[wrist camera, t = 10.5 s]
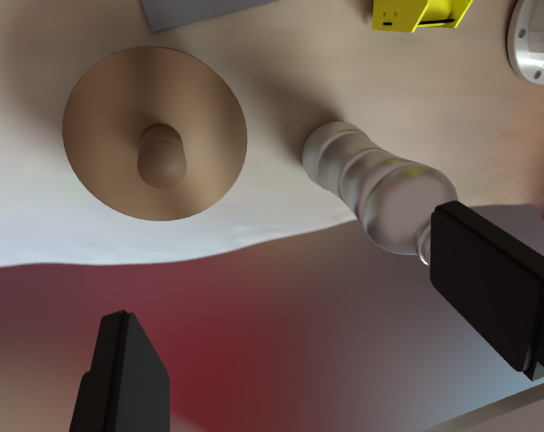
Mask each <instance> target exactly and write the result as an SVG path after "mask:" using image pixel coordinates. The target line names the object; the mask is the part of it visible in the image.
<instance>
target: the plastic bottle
mask: <svg viewBox="0 0 544 432" xmlns="http://www.w3.org/2000/svg"><path fill="white" fill-rule="evenodd" d="M302 163H303V166H304V169H305V171H306V173H307V175H308V176H309V178H310V179H311V180H312V181H313V182H314V183H316V184H317V185H319V186H320V187H322V188H324V189H326V190H328V191H330V192H332V193H333V194H335V195H336V196H337V197H339V198H340V199H342V200H343V202H344V203H345V204H346V205H347V206H348V207H349V208H350V209H351V210H352V212H353V213H354V214H355V216H356V217H357V219H358V220H359V222H360V223H361V225H362V226H363V228H364V229H365V231H366V232H367V234H368V235H369V236H370V238H371V239H372V240H373V241H374V242H375V243H376V244H377V245H378V246H380V247H382V248H384V249H386V250H388V251H391V252H393V253H397V254H408V255H417V256H418V258H419V259H420V260H421V261H422V262H423V263H424V264H426V265H428V266H430V230H431V214H432V212H434V210H435V207H436V206H438V205H441V204H444V203H447V202H450V201H453V200H456V201H458V196H457V193H456V189H455V187H454V186H453V184H452V183H451V182H450V180H449V179H448V178H447V177H446V175H444V174H443V173H442V172H441V171H439V170H437V169H434V168H432V167H429V166H427V165H423V164H421V163H417V162H414V161H410V160H407V159H404V158H400V157H398V156H396V155H394V154H392V153H389V152H387V151H385V150H383V149H382V148H380V147H379V146H378V145H376V144H375V143H374V142H372V141H371V140H370V139H369V137H368V136H367V135H366V134H365V133H364V132H363V131H362V130H361V129H359V128H358V127H357V126H355V125H353V124H350V123H344V122H330V123H326V124H324V125H322V126H320V127H319V128H317V129H316V130H315V131H314V132H313V133H312V134H311V135H310V136H309V138H308V139H307V141H306V143H305V145H304V148H303V152H302Z"/></svg>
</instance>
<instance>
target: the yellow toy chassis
mask: <svg viewBox="0 0 544 432" xmlns="http://www.w3.org/2000/svg"><path fill="white" fill-rule="evenodd" d="M472 1H473V0H374V6H373V19H372V30H381V31H397V32H414V30H415V29H416V27H443V28H456V27H457V26H458V24H459V22H460V21H461V19H462V17H463V16H464V14H465V13H466V11H467V9H468V8H469V6H470V5H471V3H472Z"/></svg>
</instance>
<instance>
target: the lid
mask: <svg viewBox="0 0 544 432" xmlns="http://www.w3.org/2000/svg"><path fill="white" fill-rule="evenodd" d="M63 141H64V147H65V151H66V154H67V157H68V160H69V162H70V164H71V167H72V169H73V171H74V172H75V174H76V175H77V177H78V179H79V180H80V181H81V183H82V184H83V185H84V186H85V187H86V189H87V190H88V191H89V192H90V193H91V194H93V195H94V196H95V197H96V198H97V199H98V200H100V201H101V202H102V203H104V204H105V205H107V206H109V207H110V208H112V209H114V210H116V211H118V212H120V213H123V214H125V215H128V216H131V217H134V218H138V219H143V220H151V221H171V220H178V219H182V218H186V217H190V216H192V215H195V214H198V213H200V212H202V211H204V210H206V209H208V208H209V207H211V206H212V205H213V204H215V203H216V202H218V201H219V200H220V199H221V198H222V197H223V196H224V195H225V194H226V193H227V192H228V191H229V190H230V188H231V187H232V186H233V184H234V183H235V181H236V180H237V178H238V176H239V174H240V172H241V169H242V167H243V164H244V161H245V156H246V151H247V128H246V123H245V118H244V115H243V112H242V109H241V107H240V105H239V103H238V100H237V98H236V97H235V95H234V94H233V92H232V90H231V89H230V87H229V86H228V85H227V84H226V83H225V82H224V80H223V79H222V78H221V77H220V76H219V75H218V74H217V73H215V72H214V71H213V70H212V69H211V68H210V67H208V66H207V65H206V64H204V63H203V62H201V61H200V60H198V59H196V58H194V57H192V56H190V55H188V54H185V53H183V52H180V51H177V50H173V49H169V48H164V47H154V46H148V47H136V48H130V49H126V50H123V51H120V52H117V53H114V54H112V55H110V56H108V57H106V58H104V59H103V60H101V61H100V62H98V63H97V64H96V65H94V66H93V67H92V68H90V69H89V70H88V71H87V72H86V73H85V74H84V75H83V76H82V77H81V79H80V80H79V82H78V83H77V84H76V86H75V87H74V89H73V91H72V93H71V95H70V97H69V99H68V101H67V105H66V108H65V111H64V117H63Z"/></svg>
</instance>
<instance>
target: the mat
mask: <svg viewBox="0 0 544 432" xmlns="http://www.w3.org/2000/svg"><path fill="white" fill-rule="evenodd" d="M273 1H277V0H141V2H142V5H143V8H144V11H145V14H146V16H147V19H148V22H149V25H150V28H151V31H152V32H156V31H160V30H164V29H168V28H172V27H176V26H179V25H183V24H187V23H191V22H195V21H199V20H203V19H207V18H211V17H215V16H219V15H223V14H226V13H230V12H234V11H238V10H242V9H246V8H250V7H254V6H258V5H262V4H266V3H269V2H273Z"/></svg>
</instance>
